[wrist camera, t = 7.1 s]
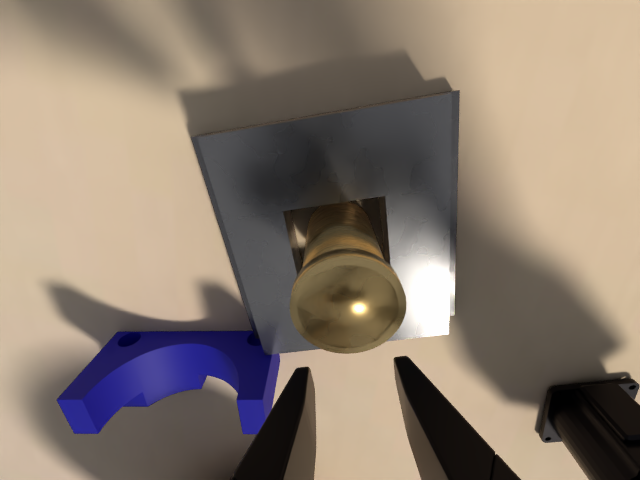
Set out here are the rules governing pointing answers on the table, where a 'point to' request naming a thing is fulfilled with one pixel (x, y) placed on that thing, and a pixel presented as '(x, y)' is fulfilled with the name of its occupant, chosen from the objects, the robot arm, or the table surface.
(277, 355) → the cable clip
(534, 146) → the table surface
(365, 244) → the gold flared cylinder
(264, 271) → the plate
